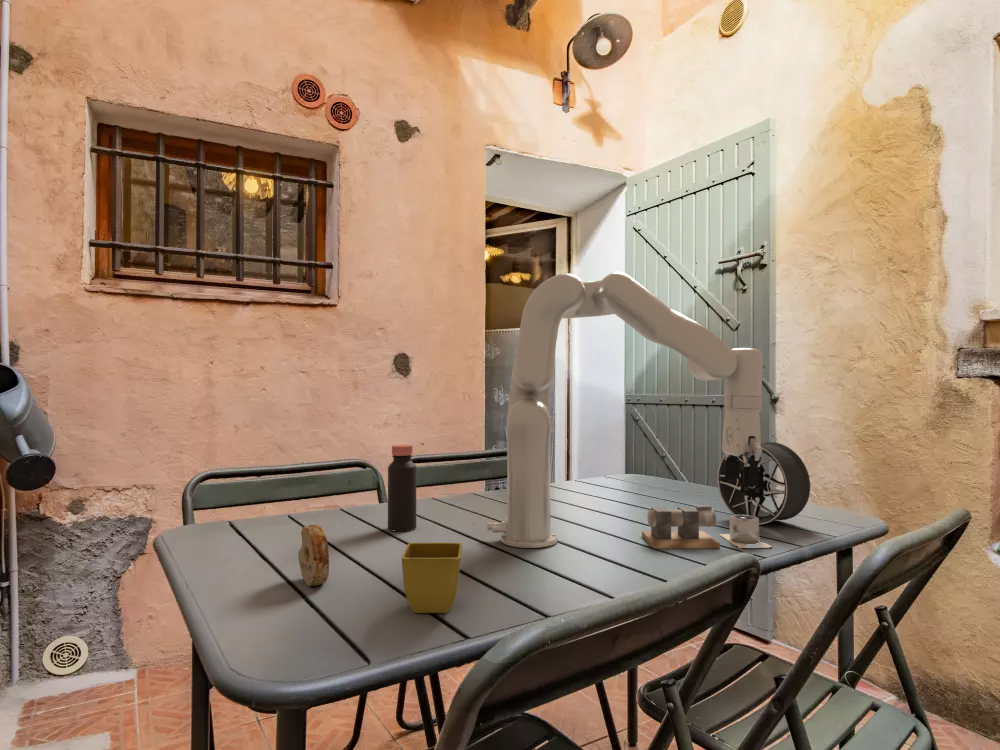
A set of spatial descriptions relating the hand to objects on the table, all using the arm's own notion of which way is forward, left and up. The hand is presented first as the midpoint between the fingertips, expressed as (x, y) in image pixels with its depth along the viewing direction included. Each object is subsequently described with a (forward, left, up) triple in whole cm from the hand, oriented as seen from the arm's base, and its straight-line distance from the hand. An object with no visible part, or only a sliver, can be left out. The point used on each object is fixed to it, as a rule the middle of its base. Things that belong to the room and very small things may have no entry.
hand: (741, 481), depth 129 cm
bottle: (-77, +13, -13) cm, 79 cm away
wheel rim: (+13, +19, -13) cm, 27 cm away
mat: (+1, 0, -13) cm, 13 cm away
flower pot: (-64, -38, -13) cm, 75 cm away
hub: (+1, 0, -13) cm, 13 cm away
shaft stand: (-14, 0, -13) cm, 19 cm away
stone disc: (-86, -26, -13) cm, 91 cm away
